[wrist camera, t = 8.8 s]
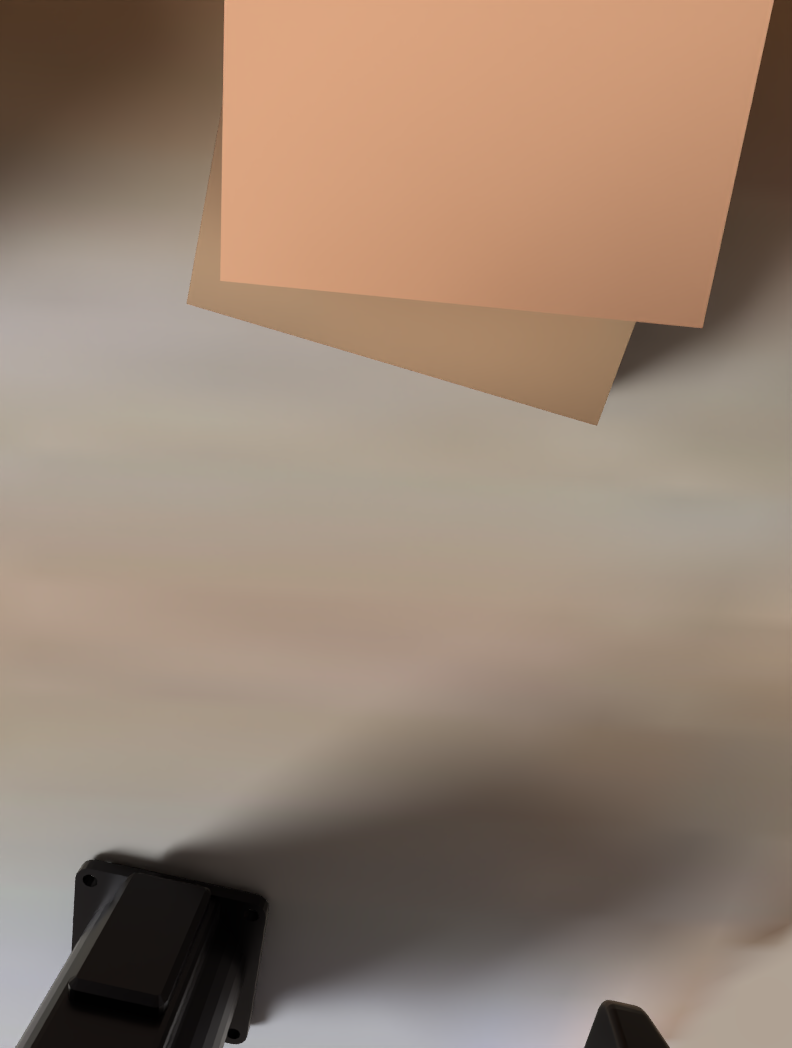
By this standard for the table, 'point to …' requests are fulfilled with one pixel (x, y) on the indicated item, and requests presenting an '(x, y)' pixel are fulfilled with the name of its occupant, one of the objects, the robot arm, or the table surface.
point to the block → (427, 330)
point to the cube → (487, 149)
